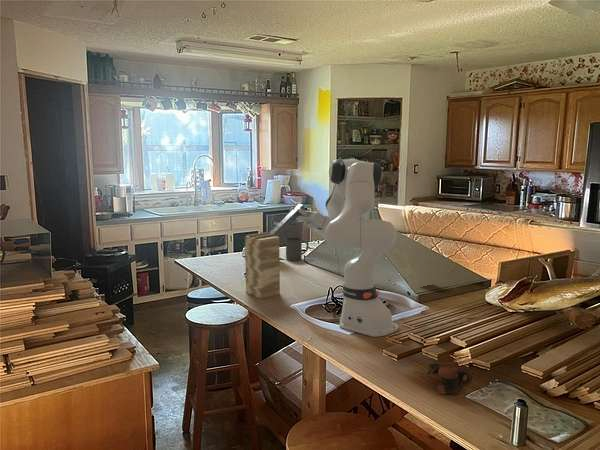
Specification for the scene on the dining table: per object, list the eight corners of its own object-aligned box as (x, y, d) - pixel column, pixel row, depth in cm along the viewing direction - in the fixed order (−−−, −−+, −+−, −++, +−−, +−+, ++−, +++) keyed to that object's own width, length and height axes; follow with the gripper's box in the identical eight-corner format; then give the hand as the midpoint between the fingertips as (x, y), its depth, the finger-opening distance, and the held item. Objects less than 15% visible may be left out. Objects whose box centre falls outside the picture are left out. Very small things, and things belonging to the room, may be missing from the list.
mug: (288, 261, 275) (288, 240, 273) (284, 257, 284) (283, 237, 282) (311, 259, 279) (311, 239, 277) (306, 256, 288) (306, 236, 286)
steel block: (305, 209, 224) (302, 204, 223) (276, 239, 215) (272, 234, 214) (301, 208, 227) (298, 203, 225) (272, 238, 218) (268, 233, 216)
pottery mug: (426, 395, 129) (422, 363, 132) (434, 395, 137) (431, 365, 140) (472, 393, 124) (467, 360, 127) (478, 394, 132) (474, 362, 135)
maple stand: (279, 294, 215) (279, 234, 210) (261, 298, 208) (260, 237, 204) (264, 288, 224) (263, 231, 219) (246, 292, 218) (244, 233, 213)
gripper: (303, 212, 239) (284, 201, 231) (331, 217, 224) (312, 205, 215) (298, 224, 238) (278, 212, 230) (326, 229, 223) (306, 217, 214)
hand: (295, 209), depth 222 cm, fingers closed on steel block, 3 cm apart
